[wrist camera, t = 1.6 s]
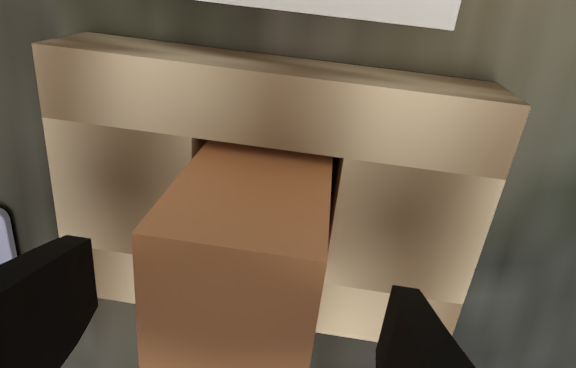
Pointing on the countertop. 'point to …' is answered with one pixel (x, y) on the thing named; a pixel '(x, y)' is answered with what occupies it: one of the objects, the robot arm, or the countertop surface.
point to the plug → (234, 260)
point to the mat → (369, 10)
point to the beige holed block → (292, 137)
